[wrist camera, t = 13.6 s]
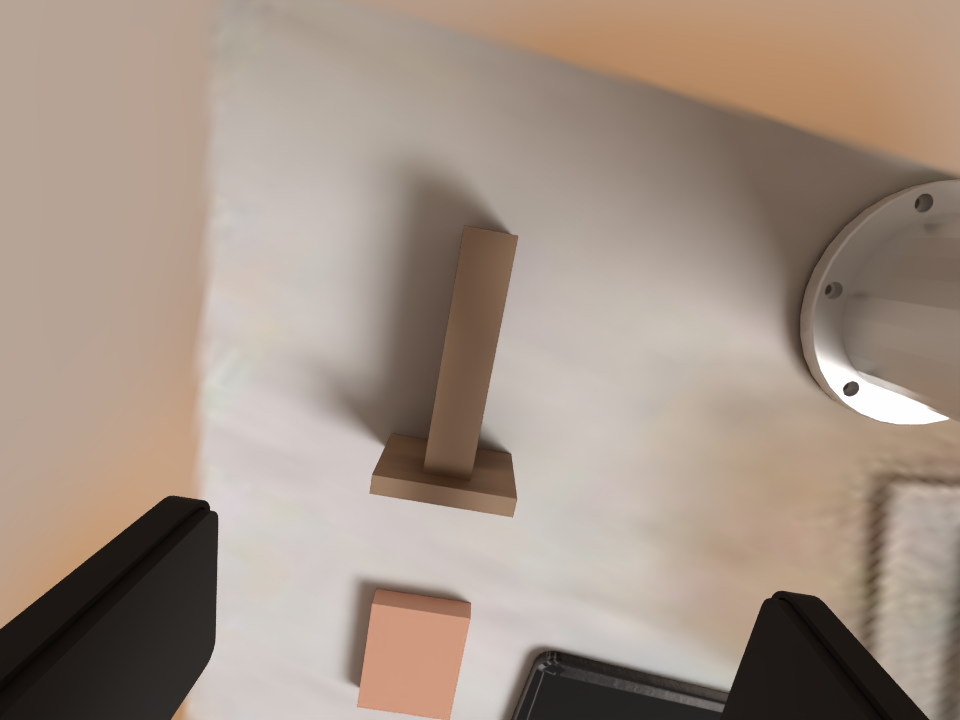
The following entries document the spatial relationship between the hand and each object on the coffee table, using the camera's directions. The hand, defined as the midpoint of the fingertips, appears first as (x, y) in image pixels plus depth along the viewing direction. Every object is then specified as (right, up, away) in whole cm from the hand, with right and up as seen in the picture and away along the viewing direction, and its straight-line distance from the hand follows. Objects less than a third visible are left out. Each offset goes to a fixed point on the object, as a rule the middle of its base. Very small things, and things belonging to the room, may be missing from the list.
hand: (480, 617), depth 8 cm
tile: (-4, -11, +22) cm, 24 cm away
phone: (+10, -20, +25) cm, 33 cm away
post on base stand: (-1, +5, +18) cm, 19 cm away
